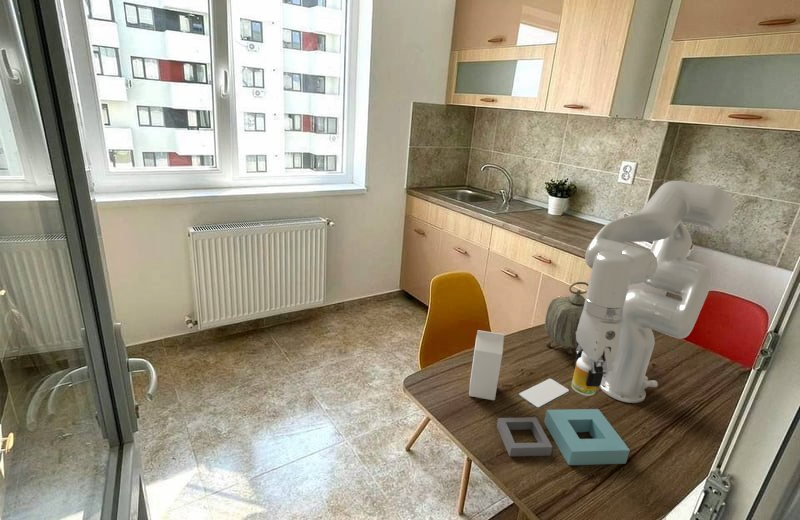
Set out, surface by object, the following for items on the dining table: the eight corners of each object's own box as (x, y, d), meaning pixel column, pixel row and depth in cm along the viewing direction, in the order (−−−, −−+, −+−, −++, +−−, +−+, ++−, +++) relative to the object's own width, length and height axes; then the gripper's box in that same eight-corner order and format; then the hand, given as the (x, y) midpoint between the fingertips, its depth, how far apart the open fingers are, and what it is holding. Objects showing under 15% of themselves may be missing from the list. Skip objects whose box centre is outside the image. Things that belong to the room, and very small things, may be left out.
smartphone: (517, 394, 123) (550, 377, 131) (516, 395, 123) (550, 379, 132) (537, 408, 118) (570, 390, 126) (536, 409, 118) (570, 391, 126)
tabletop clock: (579, 342, 152) (594, 277, 143) (593, 357, 144) (610, 288, 135) (540, 343, 150) (553, 276, 141) (552, 358, 142) (567, 288, 133)
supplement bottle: (585, 399, 99) (594, 363, 95) (566, 385, 103) (573, 350, 99) (600, 391, 101) (609, 356, 98) (581, 379, 105) (589, 344, 102)
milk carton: (494, 401, 120) (504, 341, 113) (468, 396, 121) (477, 336, 114) (494, 385, 126) (504, 328, 120) (470, 381, 127) (478, 324, 121)
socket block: (595, 421, 114) (598, 409, 113) (625, 463, 101) (630, 450, 100) (544, 422, 113) (546, 409, 111) (568, 465, 100) (572, 451, 98)
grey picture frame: (534, 425, 112) (536, 417, 111) (550, 455, 102) (552, 447, 101) (496, 425, 111) (498, 417, 110) (509, 456, 101) (511, 448, 100)
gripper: (642, 328, 86) (621, 401, 93) (599, 290, 102) (584, 355, 109) (606, 328, 86) (587, 402, 93) (569, 290, 102) (555, 356, 108)
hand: (586, 376), depth 101 cm, fingers closed on supplement bottle, 5 cm apart
